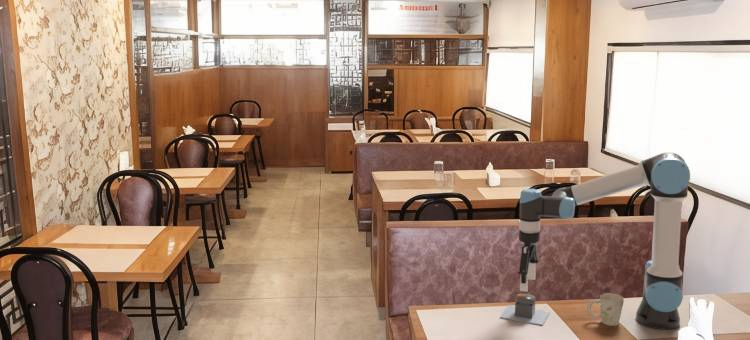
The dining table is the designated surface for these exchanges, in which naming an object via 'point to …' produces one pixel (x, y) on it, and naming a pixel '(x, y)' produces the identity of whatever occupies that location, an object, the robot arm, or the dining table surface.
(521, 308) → the knob
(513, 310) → the shaft board
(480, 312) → the dining table surface
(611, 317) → the mug
